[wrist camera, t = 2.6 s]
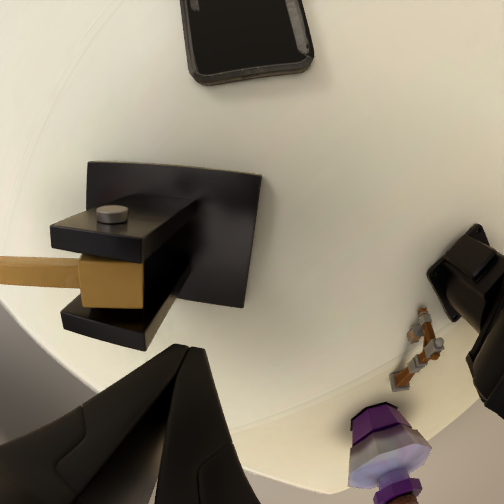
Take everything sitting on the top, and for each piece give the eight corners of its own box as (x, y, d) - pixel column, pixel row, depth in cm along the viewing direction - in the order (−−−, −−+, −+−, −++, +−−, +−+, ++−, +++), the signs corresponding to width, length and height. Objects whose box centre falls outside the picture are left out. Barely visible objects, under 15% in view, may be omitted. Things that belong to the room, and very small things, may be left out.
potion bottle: (388, 440, 27) (412, 519, 15) (323, 441, 27) (336, 534, 15) (424, 391, 24) (467, 477, 13) (354, 390, 24) (386, 499, 12)
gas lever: (-45, 280, 10) (-70, 305, 8) (-54, 229, 9) (-83, 247, 6) (144, 290, 15) (143, 324, 12) (144, 230, 14) (141, 254, 11)
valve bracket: (96, 275, 21) (21, 341, 12) (95, 160, 18) (-4, 175, 9) (244, 300, 21) (230, 400, 12) (262, 174, 18) (259, 193, 9)
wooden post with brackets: (436, 299, 20) (453, 348, 16) (400, 350, 25) (409, 391, 22) (418, 300, 20) (435, 351, 16) (384, 352, 25) (392, 394, 22)
